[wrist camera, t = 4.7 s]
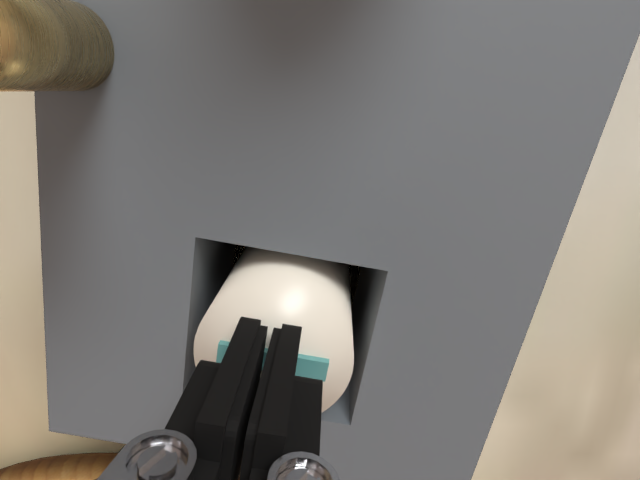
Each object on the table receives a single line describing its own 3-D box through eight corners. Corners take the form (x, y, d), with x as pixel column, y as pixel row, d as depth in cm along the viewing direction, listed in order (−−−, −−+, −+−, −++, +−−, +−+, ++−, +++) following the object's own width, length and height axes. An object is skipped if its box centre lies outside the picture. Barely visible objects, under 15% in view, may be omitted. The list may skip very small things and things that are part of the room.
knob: (358, 226, 17) (369, 305, 11) (338, 322, 19) (337, 440, 12) (249, 207, 17) (197, 274, 11) (237, 305, 19) (185, 414, 12)
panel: (639, -301, 12) (890, -630, 7) (428, 385, 20) (462, 500, 15) (155, -397, 12) (-5, -821, 7) (131, 334, 20) (49, 431, 14)
